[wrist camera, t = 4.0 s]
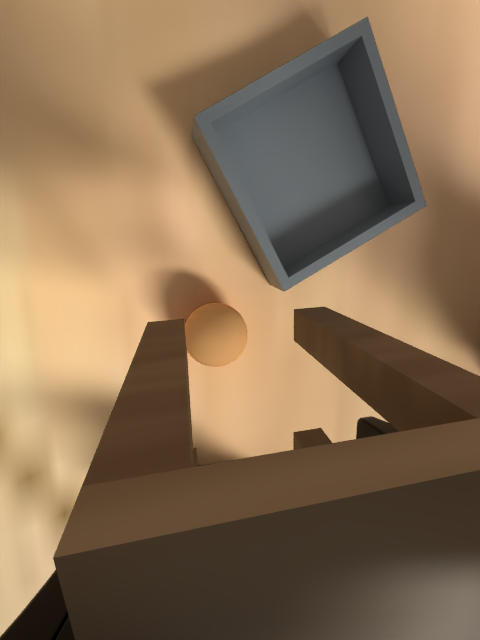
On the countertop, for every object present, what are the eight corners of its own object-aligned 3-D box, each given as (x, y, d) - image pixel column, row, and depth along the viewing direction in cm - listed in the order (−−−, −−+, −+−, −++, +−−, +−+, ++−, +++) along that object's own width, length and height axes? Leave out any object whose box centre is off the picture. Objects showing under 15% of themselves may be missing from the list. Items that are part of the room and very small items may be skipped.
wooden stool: (147, 322, 10) (53, 557, 3) (324, 306, 11) (621, 440, 4) (167, 479, 12) (145, 904, 4) (320, 452, 13) (519, 752, 5)
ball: (222, 286, 20) (232, 296, 16) (250, 334, 22) (265, 354, 18) (171, 317, 20) (169, 334, 16) (202, 363, 21) (207, 389, 18)
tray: (338, 51, 18) (367, 16, 15) (393, 210, 21) (426, 205, 18) (191, 136, 18) (193, 116, 15) (270, 284, 21) (284, 291, 18)
